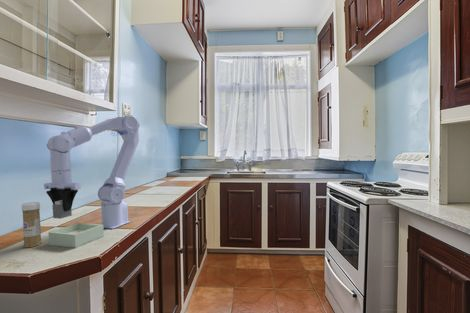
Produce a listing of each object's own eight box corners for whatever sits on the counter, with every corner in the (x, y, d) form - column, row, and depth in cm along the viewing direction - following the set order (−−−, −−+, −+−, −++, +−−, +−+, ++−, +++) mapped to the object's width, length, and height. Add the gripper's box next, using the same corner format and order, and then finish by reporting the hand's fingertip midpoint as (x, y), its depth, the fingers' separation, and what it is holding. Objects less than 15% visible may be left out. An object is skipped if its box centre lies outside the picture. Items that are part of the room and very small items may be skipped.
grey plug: (64, 214, 94) (63, 199, 93) (71, 215, 92) (70, 199, 92) (53, 218, 90) (52, 201, 90) (60, 218, 89) (59, 202, 88)
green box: (79, 234, 95) (78, 222, 95) (103, 236, 92) (103, 224, 92) (49, 244, 85) (48, 232, 85) (75, 248, 81) (75, 234, 81)
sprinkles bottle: (19, 248, 83) (17, 204, 82) (31, 242, 87) (29, 201, 87) (34, 247, 82) (32, 204, 82) (45, 242, 87) (43, 201, 87)
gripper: (34, 171, 90) (36, 212, 90) (65, 171, 85) (68, 214, 85) (54, 169, 96) (56, 207, 97) (85, 169, 91) (87, 209, 92)
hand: (63, 210), depth 91 cm, fingers closed on grey plug, 3 cm apart
